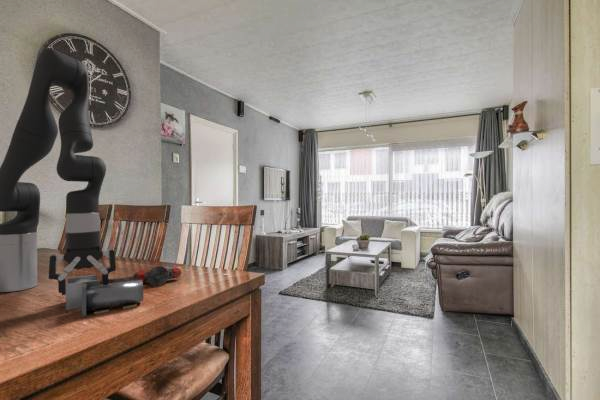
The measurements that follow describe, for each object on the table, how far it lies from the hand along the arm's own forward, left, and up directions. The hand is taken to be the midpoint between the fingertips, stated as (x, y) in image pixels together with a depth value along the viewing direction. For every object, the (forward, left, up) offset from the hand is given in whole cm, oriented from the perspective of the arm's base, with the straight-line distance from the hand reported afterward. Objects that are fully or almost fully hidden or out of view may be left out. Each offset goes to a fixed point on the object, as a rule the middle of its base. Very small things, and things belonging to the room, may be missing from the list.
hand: (84, 291), depth 78 cm
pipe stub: (+7, -9, -3) cm, 11 cm away
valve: (+15, +16, -4) cm, 22 cm away
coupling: (0, 0, -3) cm, 3 cm away
